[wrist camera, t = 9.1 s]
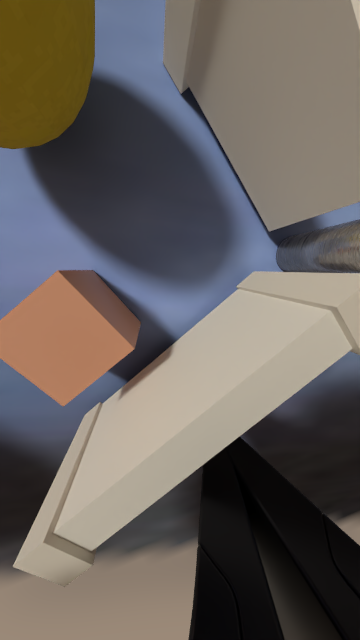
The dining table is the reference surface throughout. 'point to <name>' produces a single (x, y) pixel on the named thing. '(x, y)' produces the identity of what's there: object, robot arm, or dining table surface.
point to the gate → (190, 409)
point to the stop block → (67, 333)
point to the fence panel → (276, 95)
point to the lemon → (43, 67)
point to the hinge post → (322, 250)
